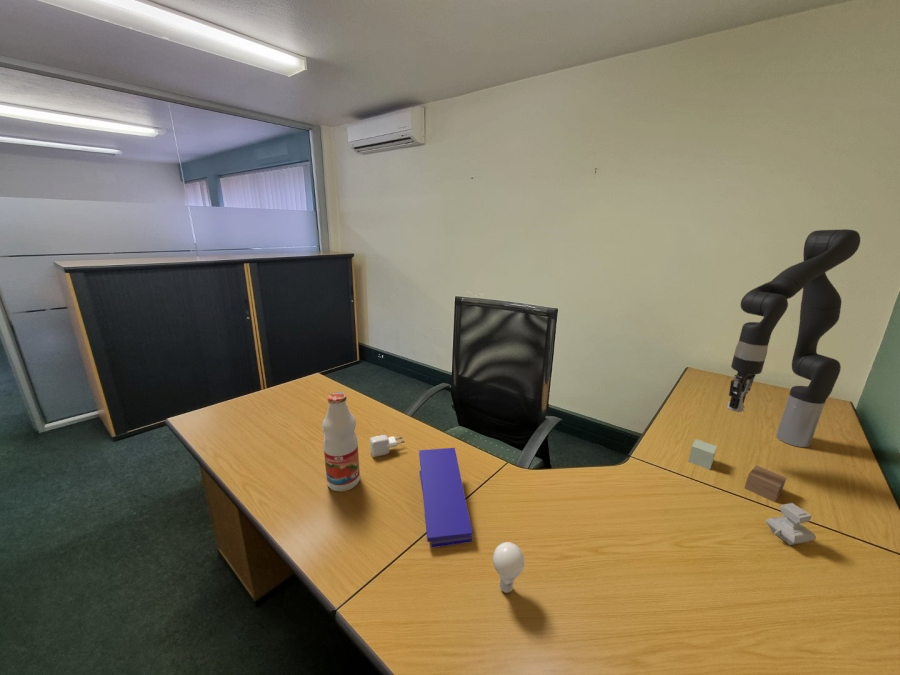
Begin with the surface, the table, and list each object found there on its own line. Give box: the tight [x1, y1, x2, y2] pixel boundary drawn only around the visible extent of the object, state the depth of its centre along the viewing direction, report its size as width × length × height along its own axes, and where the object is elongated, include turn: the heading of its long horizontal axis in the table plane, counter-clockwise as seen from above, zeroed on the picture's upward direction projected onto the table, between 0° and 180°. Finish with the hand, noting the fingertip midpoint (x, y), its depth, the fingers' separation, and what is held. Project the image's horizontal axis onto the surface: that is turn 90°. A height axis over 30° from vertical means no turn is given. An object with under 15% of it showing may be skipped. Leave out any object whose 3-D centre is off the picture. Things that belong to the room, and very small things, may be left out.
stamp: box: [765, 502, 817, 546], centre depth 88 cm, size 9×7×8 cm
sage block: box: [687, 438, 718, 471], centre depth 118 cm, size 6×6×6 cm
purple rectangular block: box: [418, 447, 473, 549], centre depth 97 cm, size 12×28×10 cm, turn 11°
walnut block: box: [744, 464, 787, 503], centre depth 105 cm, size 7×7×5 cm
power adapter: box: [369, 434, 405, 458], centre depth 120 cm, size 11×5×6 cm, turn 113°
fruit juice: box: [321, 392, 361, 492], centre depth 102 cm, size 9×9×28 cm
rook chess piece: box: [726, 388, 747, 413], centre depth 115 cm, size 4×4×8 cm
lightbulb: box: [492, 541, 525, 594], centre depth 74 cm, size 6×6×11 cm
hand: (736, 405), depth 116 cm, fingers closed on rook chess piece, 4 cm apart
